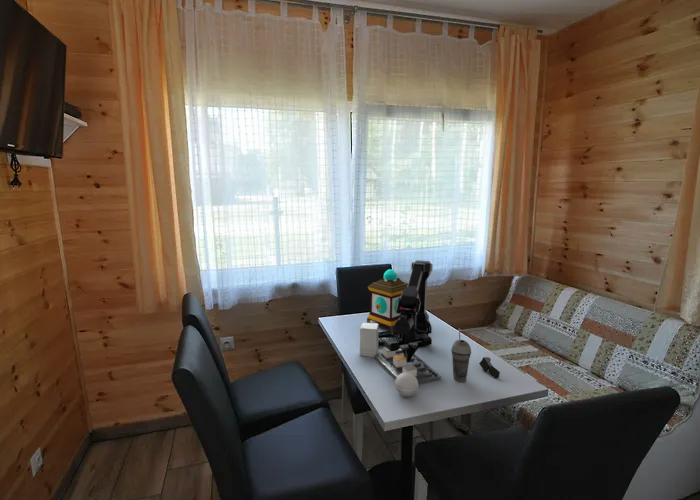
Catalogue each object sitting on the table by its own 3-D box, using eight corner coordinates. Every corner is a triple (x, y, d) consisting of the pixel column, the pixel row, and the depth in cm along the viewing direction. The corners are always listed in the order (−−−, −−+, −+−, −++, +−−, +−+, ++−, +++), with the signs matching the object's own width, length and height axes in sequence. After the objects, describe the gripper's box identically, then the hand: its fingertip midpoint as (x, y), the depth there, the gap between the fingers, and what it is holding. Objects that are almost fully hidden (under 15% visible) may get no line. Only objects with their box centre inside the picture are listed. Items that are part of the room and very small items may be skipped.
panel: (407, 352, 161) (407, 347, 161) (440, 379, 138) (440, 373, 138) (374, 358, 156) (374, 352, 155) (402, 387, 133) (402, 381, 132)
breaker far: (391, 353, 156) (391, 346, 155) (395, 357, 153) (395, 349, 152) (383, 355, 155) (383, 347, 154) (386, 359, 151) (386, 351, 151)
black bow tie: (496, 381, 142) (503, 373, 138) (491, 382, 141) (498, 375, 137) (483, 362, 148) (489, 354, 144) (478, 363, 147) (485, 355, 143)
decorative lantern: (363, 323, 196) (363, 269, 191) (387, 315, 209) (388, 263, 204) (391, 334, 181) (392, 275, 176) (416, 324, 194) (417, 269, 189)
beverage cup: (466, 386, 133) (469, 334, 130) (447, 381, 137) (449, 330, 134) (471, 377, 140) (474, 328, 136) (452, 372, 143) (455, 324, 140)
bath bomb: (404, 386, 134) (405, 365, 133) (422, 395, 128) (423, 373, 127) (390, 394, 129) (390, 373, 127) (408, 404, 123) (408, 382, 121)
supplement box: (376, 357, 157) (376, 329, 155) (359, 355, 158) (359, 328, 156) (378, 350, 164) (378, 323, 162) (362, 348, 165) (362, 322, 163)
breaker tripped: (401, 362, 148) (402, 354, 148) (406, 366, 145) (406, 358, 144) (393, 364, 147) (393, 356, 146) (397, 368, 144) (397, 360, 143)
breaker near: (411, 372, 140) (411, 364, 140) (416, 376, 137) (416, 368, 136) (402, 374, 139) (402, 365, 138) (407, 378, 136) (407, 370, 135)
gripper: (418, 315, 155) (417, 350, 158) (378, 321, 149) (378, 357, 151) (433, 324, 145) (431, 361, 147) (391, 331, 138) (390, 369, 141)
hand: (407, 361), depth 147 cm, fingers closed
